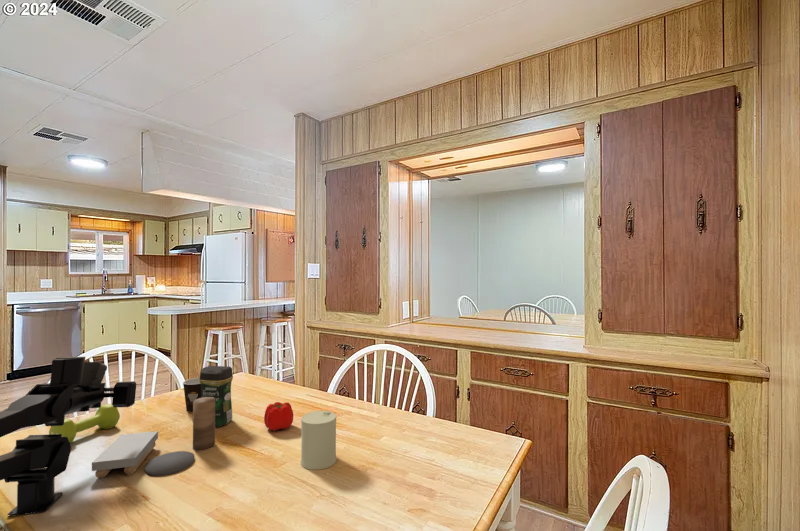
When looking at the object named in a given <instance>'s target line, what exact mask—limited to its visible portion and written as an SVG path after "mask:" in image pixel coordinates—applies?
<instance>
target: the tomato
mask: <svg viewBox="0 0 800 531" xmlns="http://www.w3.org/2000/svg"><path fill="white" fill-rule="evenodd" d="M263 419H264V421H263V422H264V426H265V427H266V428H267V429H269V430H270V431H275V432H276V431H279V430H285V429H288V428H290V427H291V425H292V424H293V422H294V411H293V407H292V404H291V403H290V402H280V401H276V402H274V403H270V404H268V405H267V407H266V408H265V411H264V416H263Z"/></svg>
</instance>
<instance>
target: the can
mask: <svg viewBox="0 0 800 531" xmlns="http://www.w3.org/2000/svg"><path fill="white" fill-rule="evenodd" d="M300 420H301V421H300V422H301V423H300V424H301V449H300V450H301V451H300V452H301V458H300V465H301V467H303V468H304V469H306V470H311V471H317V470H325V469H328V468H330V467H332V466H333V465H335V464H336V462H337V414H336V413H335V412H332V411H328V410H315V411H314V410H313V411H311V412H308V413H305V414H303V415H302V416H301V417H300Z"/></svg>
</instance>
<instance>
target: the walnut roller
mask: <svg viewBox="0 0 800 531" xmlns="http://www.w3.org/2000/svg"><path fill="white" fill-rule="evenodd" d="M215 446H216V427H215V398H214V397H204V398H199V399H196V400H194V401H193V412H192V450H193V451H199V452H202V451H207V450H210V449H212V448H213V447H215Z"/></svg>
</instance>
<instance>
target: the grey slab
mask: <svg viewBox="0 0 800 531" xmlns="http://www.w3.org/2000/svg"><path fill="white" fill-rule="evenodd" d="M158 439H159V431H158V430H157V431H156V430H155V431H146V432H145V431H144V432H143V431H142V432H133V433H125V434H120V435H119V436H118V437H117V438H116V439H115V440H113V442H112V443H111V444H109V446H108V447H107V448H105V449H104V450H103V451H102V452H101V453H100V454H99V455H98V456H97V457H96V458H95V459H94V460H93V461H91V472H92V471H93V472H94V471H95V477H96V478H97V479H103V478H105V477H106V476H107V475H108V474H109V473H110V471H111V470H113V469H121V468H123V469H124V470H123V471H124V474H125V475H128V476H131V475H133V474H134V473H135V472H136V471H137V470H138V468H139V467H140V466H141V464H142V463H143V462H144V461H145V459H146V458H147V457H148V455H150V453H151V452H152V450H154V448H155V446H156V442H157V440H158Z"/></svg>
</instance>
